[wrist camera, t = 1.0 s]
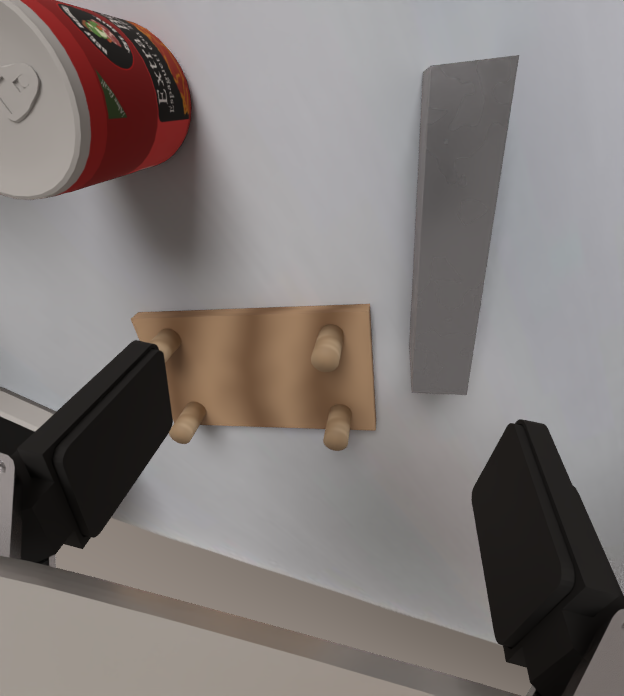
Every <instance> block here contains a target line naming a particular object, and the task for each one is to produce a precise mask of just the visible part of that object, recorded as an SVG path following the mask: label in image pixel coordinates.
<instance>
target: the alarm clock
mask: <svg viewBox="0 0 624 696" xmlns="http://www.w3.org/2000/svg"><path fill="white" fill-rule="evenodd" d="M55 413H56V411H54V410H52V409H49V408H47V407H45V406H43V405H40V404H38V403H36V402H34V401H32V400H29V399H27V398H25V397H23V396H20V395H18V394H16V393H14V392H12V391H9V390H7V389H5V388H2V387H0V453H3V454H6V455H8V456H9V457H10V456H11V455H13V454H14V453H15V452H16V451H17V448H18V447H19V446H20V445H21V444H22V443H23V442H24V441H25V440H27V439H28V438H29V437H30V436H31V435H32V434H33V433H34V432H35V431H36V430H37V429H38V428H40V427H41V426H42V425H43V424H44V423H45V422H46V421H47V420H48V419H49V418H50V417H51V416H52V415H54V414H55Z"/></svg>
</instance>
